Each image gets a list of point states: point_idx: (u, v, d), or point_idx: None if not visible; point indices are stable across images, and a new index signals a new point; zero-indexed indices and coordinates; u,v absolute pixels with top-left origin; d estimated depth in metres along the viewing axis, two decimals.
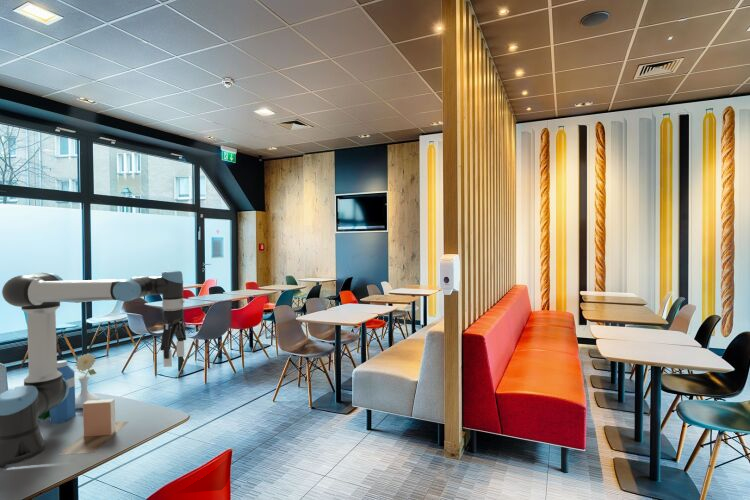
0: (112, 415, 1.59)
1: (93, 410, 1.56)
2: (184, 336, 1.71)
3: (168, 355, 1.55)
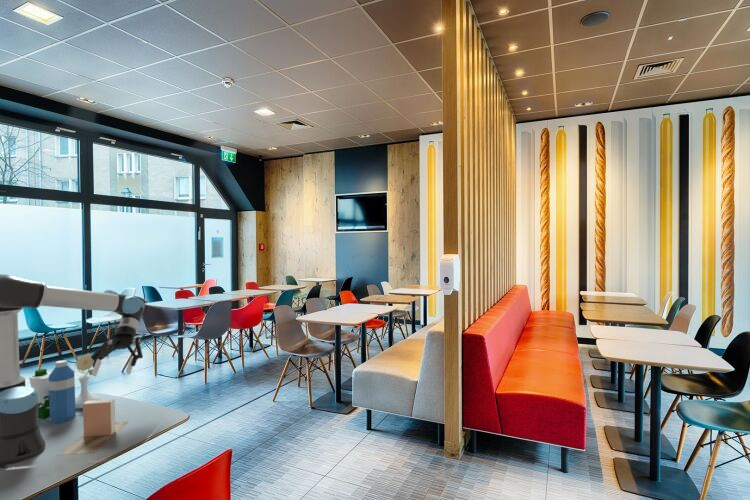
0: (112, 415, 1.59)
1: (93, 410, 1.56)
2: None
3: None
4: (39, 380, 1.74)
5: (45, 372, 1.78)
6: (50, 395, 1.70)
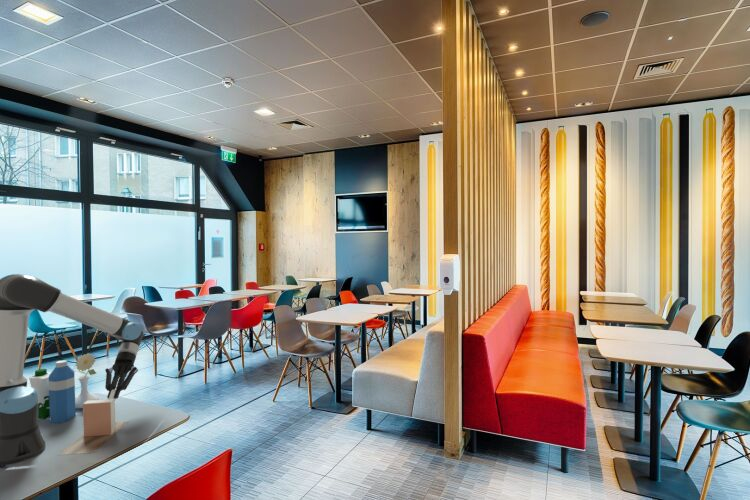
0: (112, 415, 1.59)
1: (93, 410, 1.56)
2: None
3: None
4: (39, 380, 1.74)
5: (45, 372, 1.78)
6: (50, 395, 1.70)
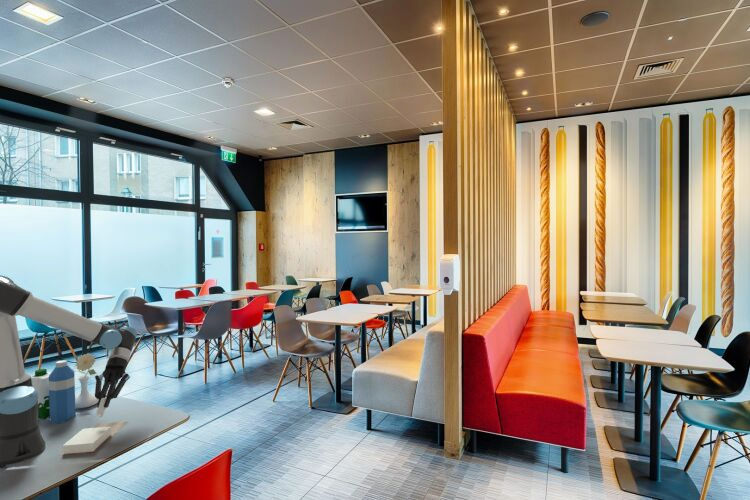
0: (101, 439, 1.50)
1: None
2: None
3: None
4: (39, 380, 1.74)
5: (45, 372, 1.78)
6: (50, 395, 1.70)
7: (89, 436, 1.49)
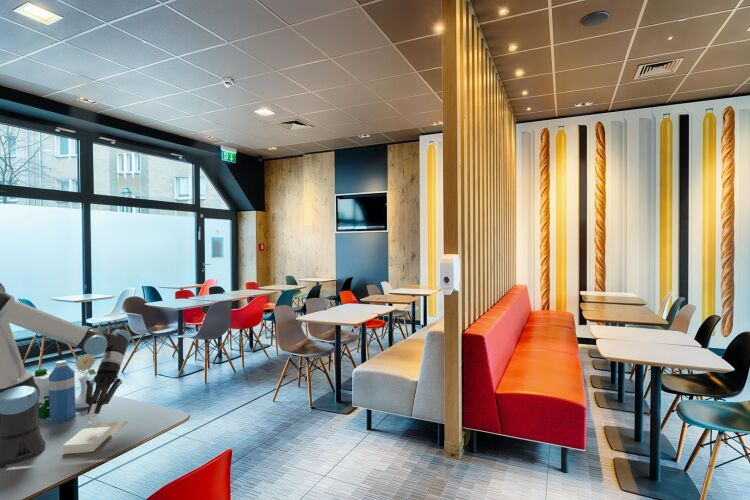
0: (101, 439, 1.50)
1: None
2: None
3: None
4: (39, 380, 1.74)
5: (45, 372, 1.78)
6: (50, 395, 1.70)
7: (89, 436, 1.49)
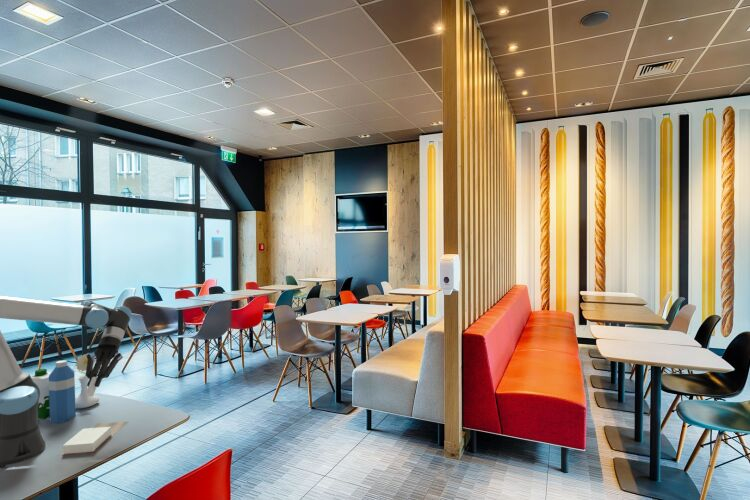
0: (101, 439, 1.50)
1: None
2: None
3: None
4: (39, 380, 1.74)
5: (45, 372, 1.78)
6: (50, 395, 1.70)
7: (89, 436, 1.49)
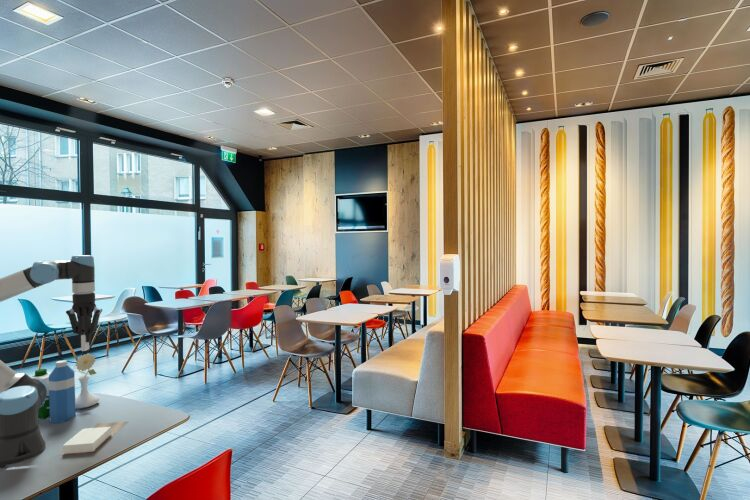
0: (101, 439, 1.50)
1: None
2: None
3: None
4: None
5: (45, 372, 1.78)
6: (50, 395, 1.70)
7: (89, 436, 1.49)
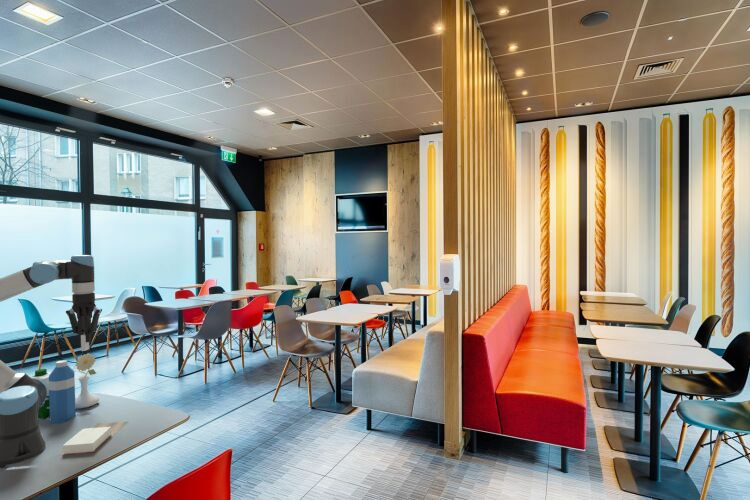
0: (101, 439, 1.50)
1: None
2: None
3: None
4: None
5: (45, 372, 1.78)
6: (50, 395, 1.70)
7: (89, 436, 1.49)
